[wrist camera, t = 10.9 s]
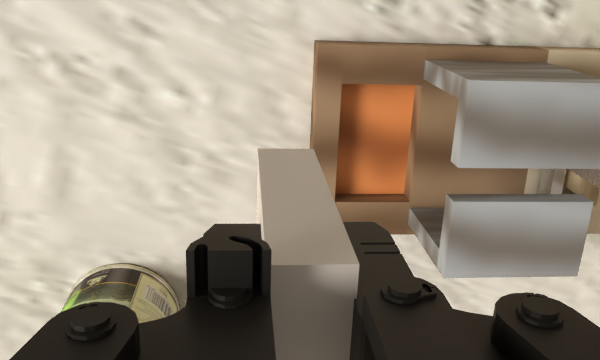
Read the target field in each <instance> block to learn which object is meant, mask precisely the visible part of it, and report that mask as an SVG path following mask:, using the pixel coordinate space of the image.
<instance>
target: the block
mask: <svg viewBox="0 0 600 360" xmlns="http://www.w3.org/2000/svg"><path fill="white" fill-rule="evenodd" d="M563 186H565V187H566V188H568V189H569V190H571V191H572V192H574V193H575V194H582V195H584V196H585V197H587V198H588V199H590V200H592V201H593V202H594V203H593V205H594V206H595V207H600V188H599V187H597V186H595V185H594V184H592V183H590V182H589V181H587V180H585V179H584V178H582V177H580V176H579V175H577V174H575V173H574V172H572V171H570V170H569V169H567V170H566V175H565V180H564V185H563Z"/></svg>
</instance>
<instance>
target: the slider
mask: <svg viewBox="0 0 600 360" xmlns="http://www.w3.org/2000/svg"><path fill="white" fill-rule="evenodd" d="M566 170H567V169H541V175H540V180H539V186H538V191H537V194H575V193H574V192H572V191H571V190H569V189H568V188H566V187H563V185H564V180H565V175H566ZM569 170H570V171H572V172H574V173H575V174H577V175H579V176H580V177H582V178H584V179H585V180H587V181H589V182H590V183H592V184H594V185H595V186H597V187H599V188H600V169H569ZM593 207H595V206H594V205H593Z"/></svg>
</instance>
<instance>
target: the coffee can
mask: <svg viewBox="0 0 600 360" xmlns="http://www.w3.org/2000/svg"><path fill="white" fill-rule="evenodd" d="M89 302H113V303H117V304H121V305H125V306H127V307H129V308H130V309H131V310H133V311H134V312H135V313H136V316H137V318H138V321H139V323H143V322H148V321H153V320H157V319H160V318H164V317H167V316H169V315H172V314H174V313H176V312H178V311H180V306H179V302H178V299H177V296H176V294H175V293H174V291H173V290H172V288H171V287H170V285H169V284H168V283H167V282H166V281H165V280H164V279H163V278H161V277H160V276H159V275H157V274H156V273H154V272H152V271H150V270H148V269H146V268H143V267H139V266H135V265H130V264H112V265H107V266H103V267H99V268H97V269H95V270H93V271H91V272H89V273H87V274H86V275H85V276H83V277H82V278H81V279H80V280H79V281H78V282H77V283H76V284H75V286H74V287H73V289H72V290H71V292H70V294H69V297H68V300H67V302H66V303H65V305H64V307H63V309H62V311H65V310H67V309H70V308H72V307H75V306H77V305H80V304H84V303H87V304H88V303H89ZM62 311H61V312H62Z"/></svg>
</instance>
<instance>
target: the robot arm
mask: <svg viewBox="0 0 600 360" xmlns="http://www.w3.org/2000/svg"><path fill="white" fill-rule="evenodd" d="M186 268H187V303H186V307H184V308H183V309H181V310H180V311H178V312H176V313H174V314H172V315H169V316H167V317H164V318H160V319H157V320H153V321H148V322H143V323H139V321H138V318H137V316H136V313H135V312H134V311H133V310H131V309H130V308H129V307H127V306H125V305H121V304H117V303H113V302H89V303H88V304H87V303H84V304H80V305H77V306H75V307H72V308H70V309H67V310H65V311H62V312H60V313H59V314H58V315H56V316H55V317H53V318H52V319H51V320H49V321H48V322H47V323H46V324H45V325H44V326H43V327H42V328H41V329H40V330H39V331H38V332H37V333H36V334H35V335H34V336H33V337H32V338H31V339H30V340H29V341H28V342H27V343H26V344H25V345H24V346H23V347H22V348H21V349H20V350H19V351H18V352H17V353H16V354H15V355H14V356H13V357H12V358H11V359H10V360H600V327H598V326H597V325H595V324H594V323H592V322H591V321H590V320H588V319H587V318H585V317H584V316H583V315H581V314H580V313H578V312H577V311H575V310H574V309H573V308H571V307H569V306H567V305H565V304H563V303H562V302H560V301H557V300H554V299H551V298H548V297H547V296H545V295H541V294H534V293H514V294H509V295H506V296H503V297H501V298H500V299H499V300H498V301H497V302H496V303H495V309H494V315H493V316H487V315H481V314H475V313H469V312H464V311H460V310H455V309H452V307H451V306H450V304H449V302H448V301H447V299H446V298H445V296H444V294H443V293H442V292H441V291H440V290H439V289H438V288H437V287H436V286H435V285H433V284H431V283H429V282H427V281H425V280H424V279H420V278H416V277H414V276H413V274H412V272H411V270H410V269H409V267H408V265H407V263H406V261H405V260H404V258H403V256H402V254H400V251H399V249H398V247H397V246H396V245H395V242H394V240H393V238H392V237H391V235H390V233H389V231H387V230H386V229H384V228H383V227H381V226H380V225H378V224H377V223H375V222H342V219H341V217H340V214H339V212H338V209H337V207H336V204H335V202H334V199H333V197H332V194H331V191H330V189H329V186H328V184H327V181H326V179H325V176H324V174H323V171H322V169H321V166H320V164H319V161H318V159H317V156H316V154H315V151H314V149H258V163H257V224H214V225H213V226H212V227H211V228H210V229H209V230H208V231H206V232H205V233H204V235H203V237H202V238H200V239H198V240H196V241H194V242H193V243H191V244H190V245H189V247H188V248H187V250H186Z"/></svg>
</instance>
